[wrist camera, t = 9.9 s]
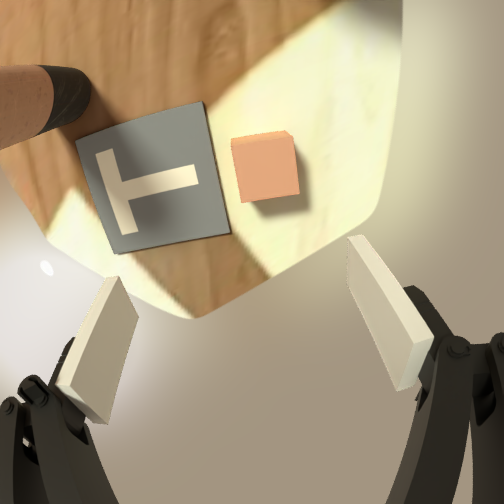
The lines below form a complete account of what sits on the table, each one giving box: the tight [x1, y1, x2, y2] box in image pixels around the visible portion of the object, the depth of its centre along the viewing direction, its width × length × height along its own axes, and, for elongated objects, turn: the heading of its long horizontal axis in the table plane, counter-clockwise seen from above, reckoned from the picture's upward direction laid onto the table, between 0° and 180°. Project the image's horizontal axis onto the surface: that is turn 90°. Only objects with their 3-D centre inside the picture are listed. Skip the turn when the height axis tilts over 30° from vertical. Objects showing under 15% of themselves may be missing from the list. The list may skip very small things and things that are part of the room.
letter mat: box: [75, 101, 230, 254], centre depth 33 cm, size 16×16×1 cm
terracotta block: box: [231, 130, 300, 203], centre depth 30 cm, size 6×6×5 cm
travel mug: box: [0, 65, 90, 150], centre depth 18 cm, size 8×8×20 cm
